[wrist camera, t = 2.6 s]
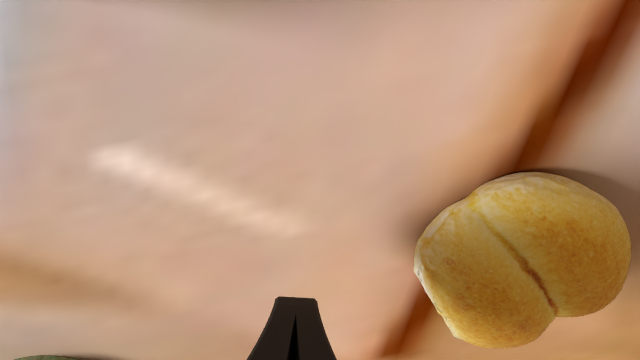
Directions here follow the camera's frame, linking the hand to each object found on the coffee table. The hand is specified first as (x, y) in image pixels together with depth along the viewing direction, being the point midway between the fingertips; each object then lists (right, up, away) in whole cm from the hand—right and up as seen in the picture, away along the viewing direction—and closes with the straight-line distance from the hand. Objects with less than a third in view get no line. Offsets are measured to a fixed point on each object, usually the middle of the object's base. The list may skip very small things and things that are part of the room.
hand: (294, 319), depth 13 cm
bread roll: (+10, +2, +6) cm, 12 cm away
